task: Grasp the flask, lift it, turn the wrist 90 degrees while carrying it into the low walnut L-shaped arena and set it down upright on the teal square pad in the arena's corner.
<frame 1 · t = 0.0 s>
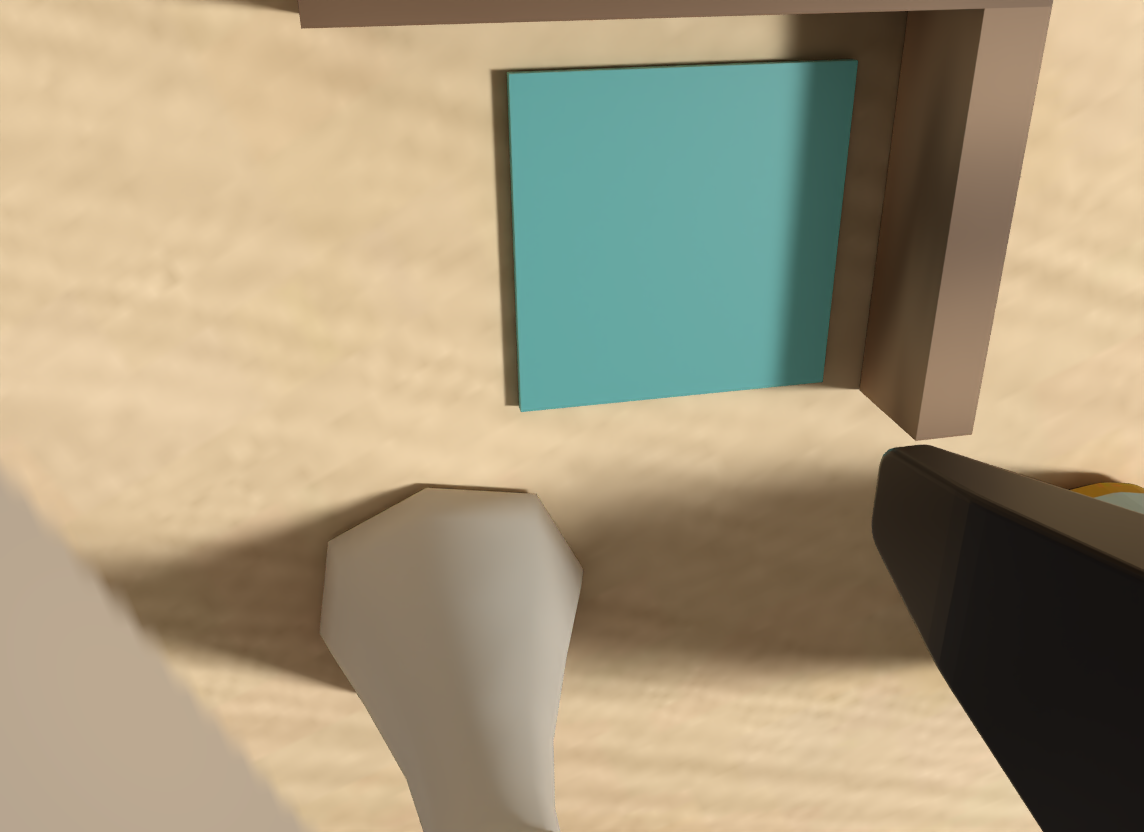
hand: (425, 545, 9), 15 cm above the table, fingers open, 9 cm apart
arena: (638, 222, 24), on the table
flask: (451, 590, 27), on the table
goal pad: (678, 240, 24), on the table
bottle: (1058, 565, 32), on the table
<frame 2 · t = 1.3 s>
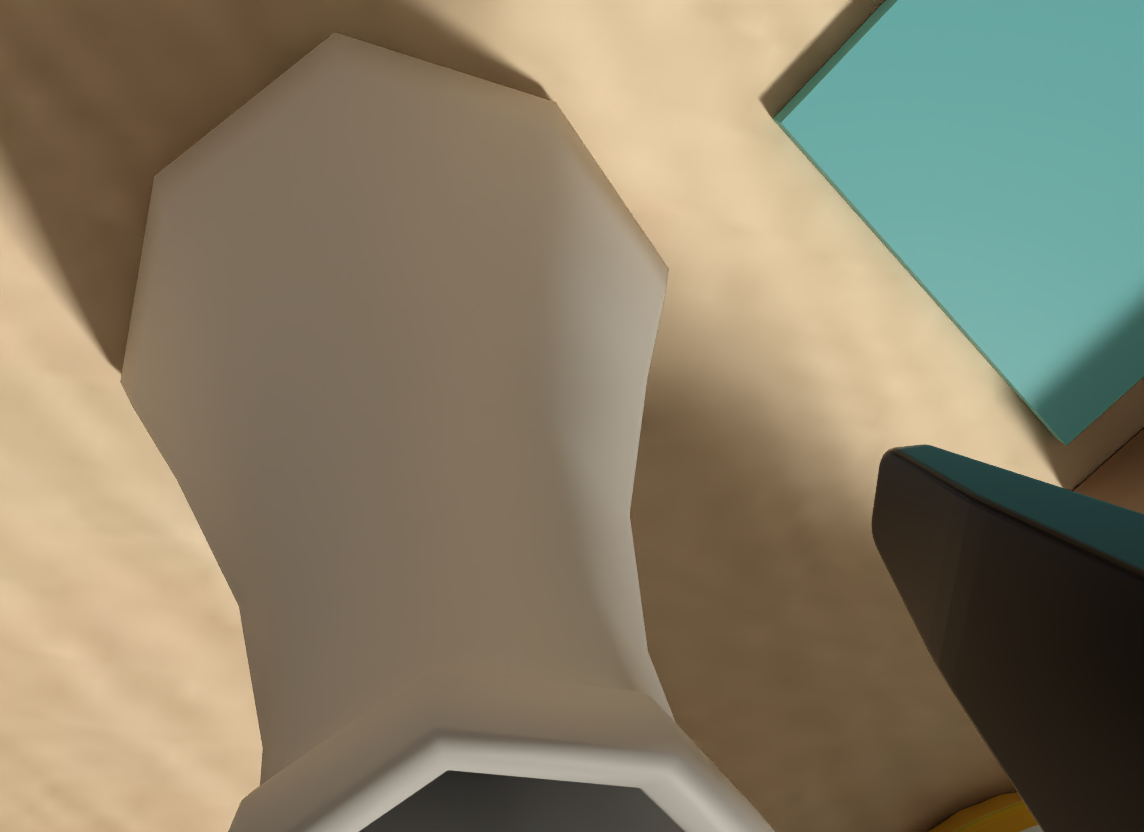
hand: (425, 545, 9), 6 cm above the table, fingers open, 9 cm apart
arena: (1128, 24, 14), on the table
flask: (401, 311, 14), on the table
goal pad: (1132, 100, 15), on the table
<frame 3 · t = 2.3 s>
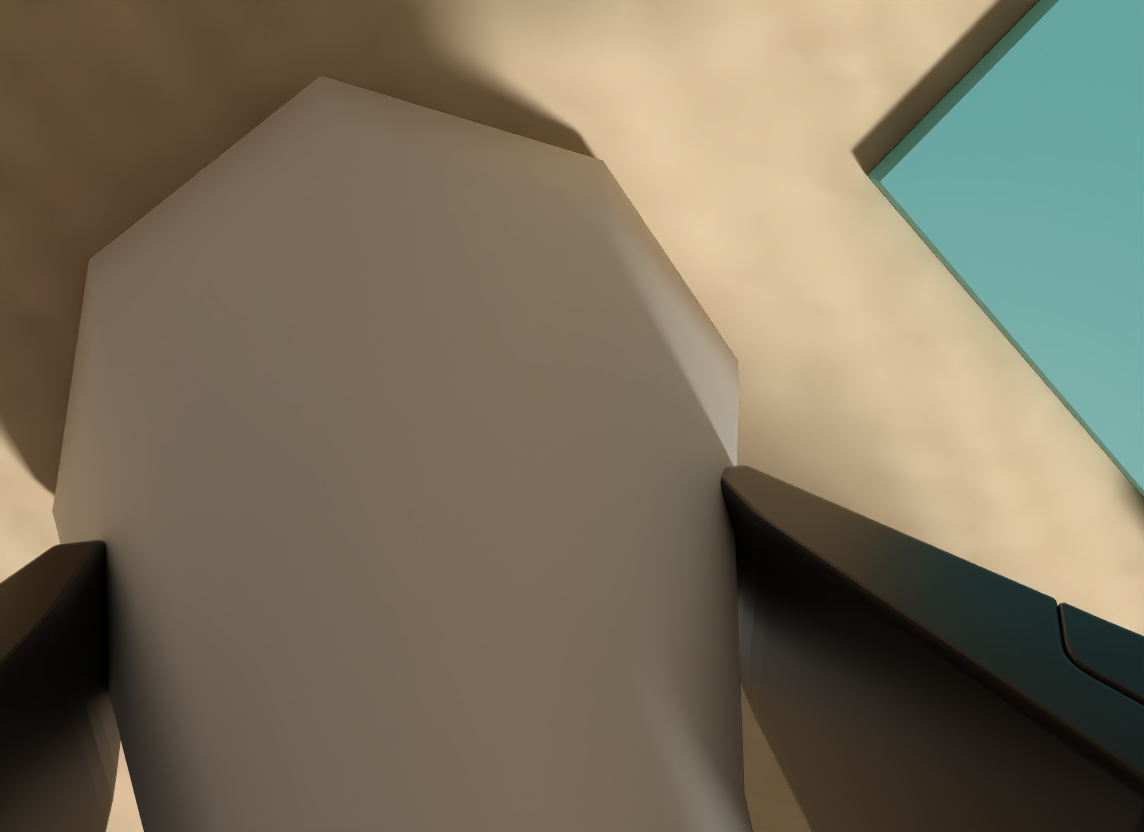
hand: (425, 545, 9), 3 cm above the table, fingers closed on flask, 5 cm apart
flask: (406, 414, 12), on the table, touching gripper
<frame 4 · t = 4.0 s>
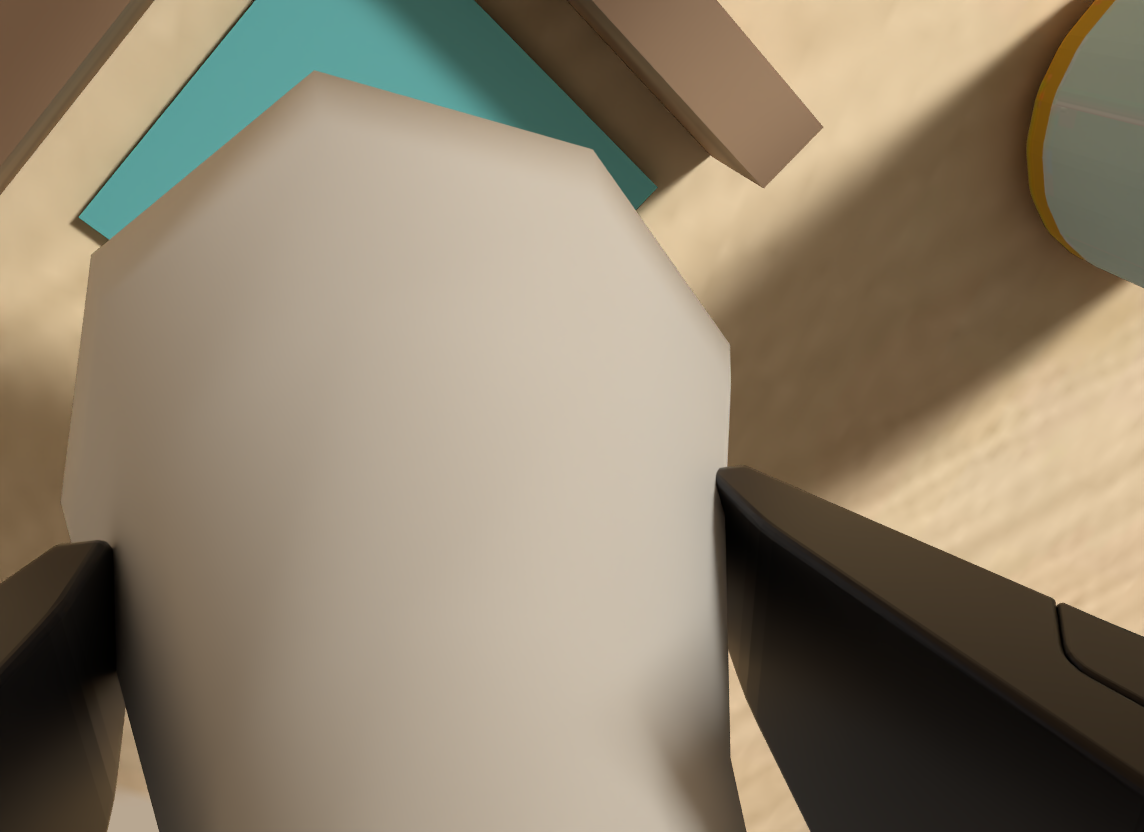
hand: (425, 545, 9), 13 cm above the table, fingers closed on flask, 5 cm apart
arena: (330, 218, 20), on the table
flask: (405, 402, 12), point 10 cm above the table, touching gripper
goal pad: (382, 198, 20), on the table
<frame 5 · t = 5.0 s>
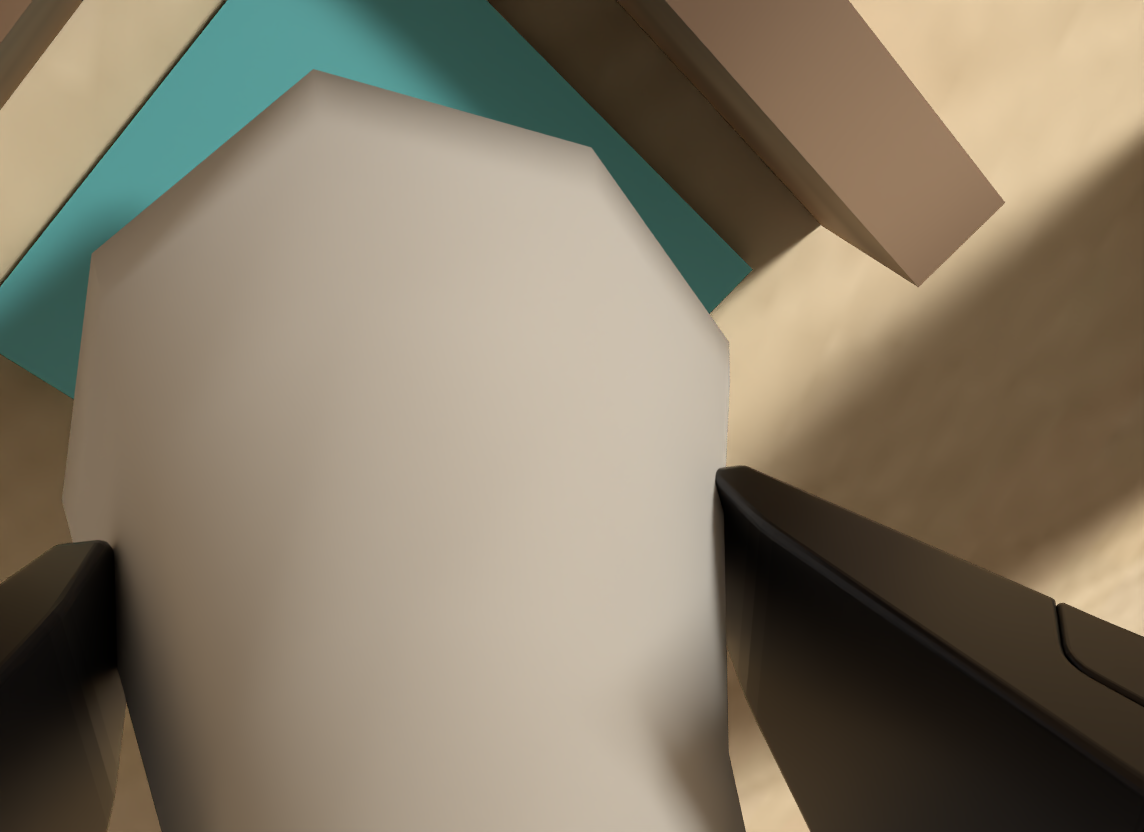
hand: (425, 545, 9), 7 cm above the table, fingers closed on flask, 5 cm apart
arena: (315, 320, 15), on the table
flask: (405, 400, 12), point 4 cm above the table, touching gripper
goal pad: (385, 291, 15), on the table
when the fingers open (4 cm above the table, at t = 5.8 s): flask drops 1 cm, resting on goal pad.
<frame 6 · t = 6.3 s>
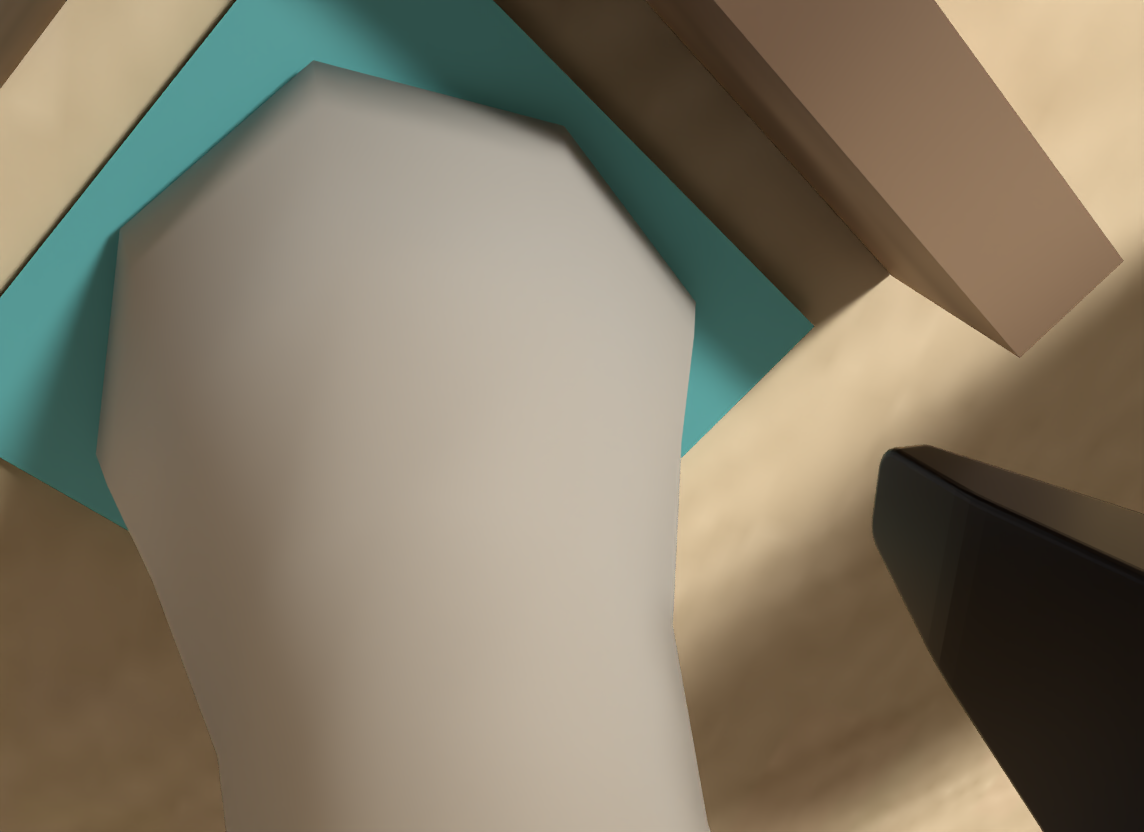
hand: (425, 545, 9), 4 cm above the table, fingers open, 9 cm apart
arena: (317, 387, 13), on the table
flask: (402, 361, 13), resting on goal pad
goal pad: (398, 354, 13), on the table
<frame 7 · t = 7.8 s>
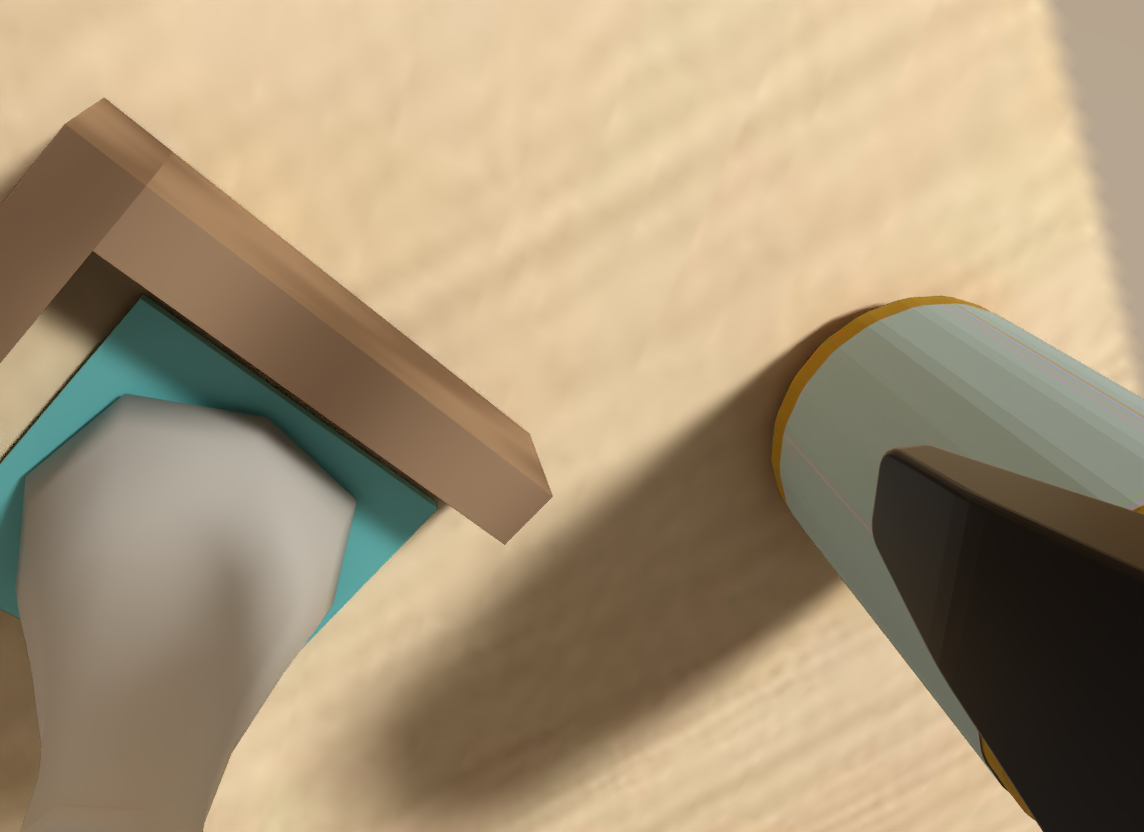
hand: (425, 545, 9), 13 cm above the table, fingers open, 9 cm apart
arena: (144, 546, 23), on the table
flask: (192, 532, 23), resting on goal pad
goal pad: (189, 528, 23), on the table
bottle: (886, 414, 26), on the table
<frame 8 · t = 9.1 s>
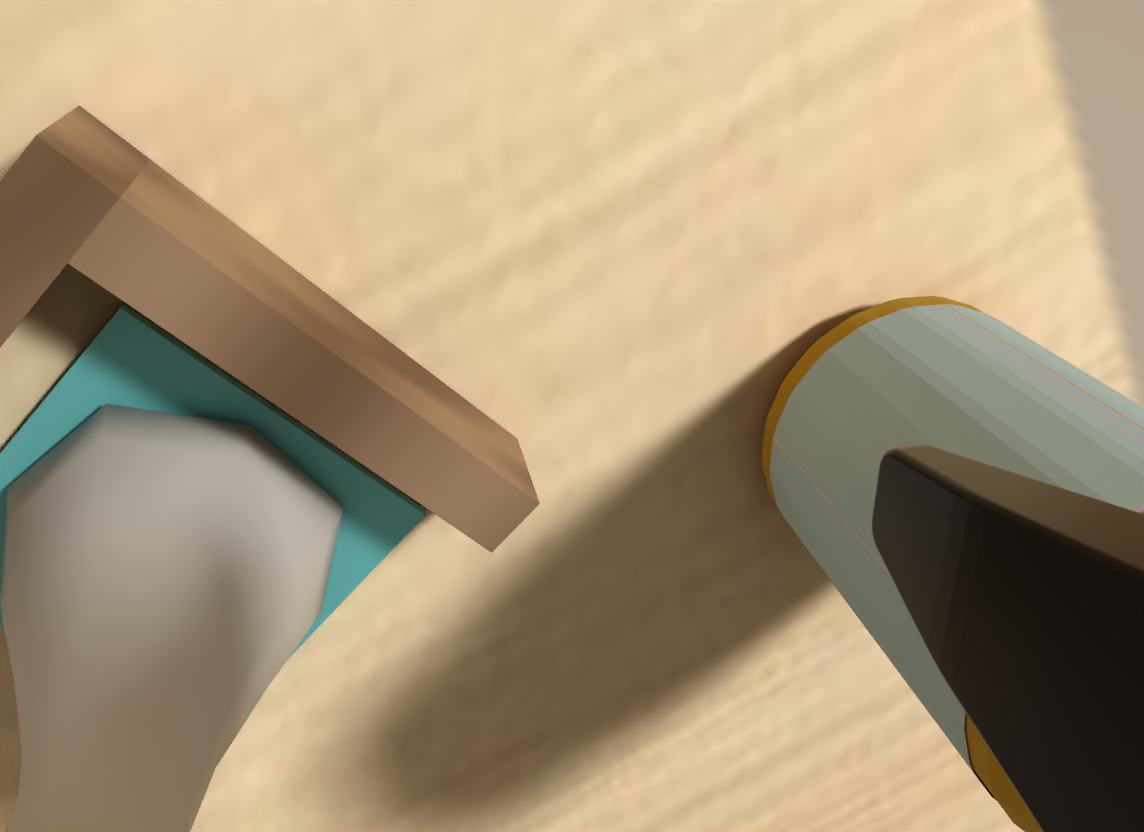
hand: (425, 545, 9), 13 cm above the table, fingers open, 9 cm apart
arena: (129, 556, 23), on the table
flask: (177, 541, 23), resting on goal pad
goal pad: (175, 537, 23), on the table
bottle: (878, 414, 26), on the table
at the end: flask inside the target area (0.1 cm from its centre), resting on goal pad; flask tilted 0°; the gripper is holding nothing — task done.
